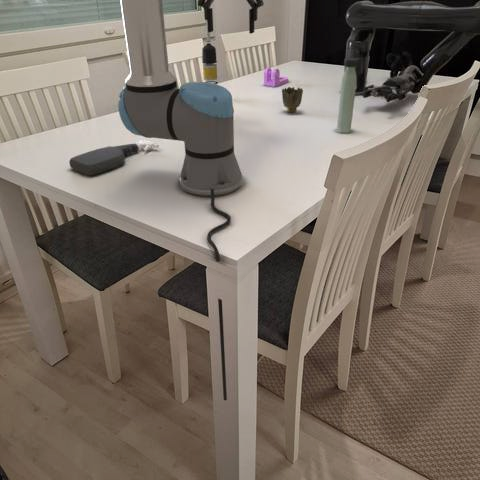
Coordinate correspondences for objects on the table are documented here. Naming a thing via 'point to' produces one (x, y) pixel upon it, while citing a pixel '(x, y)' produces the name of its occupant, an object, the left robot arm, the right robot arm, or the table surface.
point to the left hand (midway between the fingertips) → (231, 32)
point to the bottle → (346, 100)
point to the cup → (292, 98)
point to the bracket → (273, 78)
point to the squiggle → (398, 63)
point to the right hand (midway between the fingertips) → (375, 96)
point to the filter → (209, 60)
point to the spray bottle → (106, 157)
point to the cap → (351, 62)
